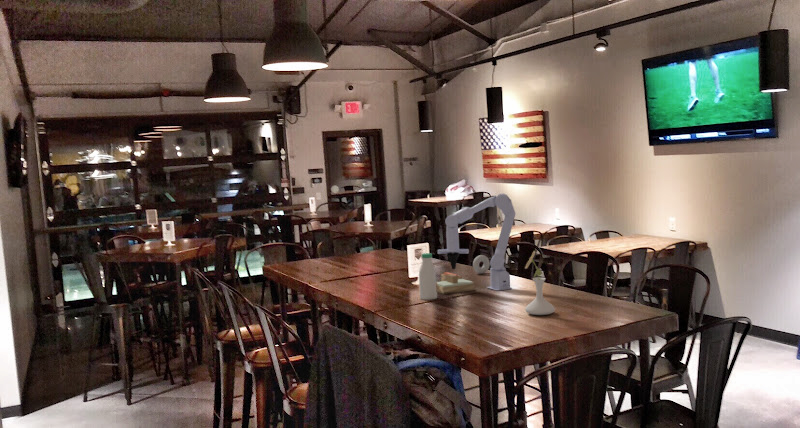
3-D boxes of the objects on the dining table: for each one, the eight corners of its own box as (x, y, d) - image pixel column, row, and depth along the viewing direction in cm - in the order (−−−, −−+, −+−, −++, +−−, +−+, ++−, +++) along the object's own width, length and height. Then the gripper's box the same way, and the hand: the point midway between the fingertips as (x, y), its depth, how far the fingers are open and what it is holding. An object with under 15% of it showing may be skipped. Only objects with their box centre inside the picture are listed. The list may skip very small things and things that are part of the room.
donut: (475, 275, 356) (474, 256, 355) (471, 274, 359) (471, 255, 358) (491, 273, 360) (490, 254, 359) (487, 272, 363) (487, 253, 363)
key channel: (462, 286, 326) (461, 276, 325) (453, 287, 324) (453, 277, 323) (449, 282, 337) (448, 273, 337) (441, 283, 336) (440, 274, 335)
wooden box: (474, 289, 316) (474, 283, 315) (443, 294, 309) (443, 287, 309) (462, 286, 326) (462, 280, 325) (432, 290, 319) (432, 284, 319)
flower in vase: (534, 309, 270) (532, 247, 268) (560, 312, 263) (558, 248, 261) (517, 316, 260) (515, 251, 258) (544, 319, 253) (542, 252, 251)
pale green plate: (473, 283, 316) (472, 275, 315) (443, 287, 309) (443, 278, 309) (462, 280, 325) (461, 272, 325) (433, 284, 319) (433, 275, 319)
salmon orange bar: (457, 278, 327) (457, 274, 327) (453, 278, 326) (453, 275, 326) (447, 275, 336) (447, 272, 336) (443, 275, 335) (443, 272, 335)
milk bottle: (435, 300, 296) (434, 254, 295) (418, 300, 298) (416, 255, 297) (438, 296, 304) (436, 252, 303) (421, 296, 306) (419, 252, 304)
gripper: (469, 239, 322) (470, 267, 323) (439, 239, 325) (440, 267, 326) (467, 240, 315) (468, 269, 316) (436, 241, 318) (437, 269, 319)
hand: (453, 268), depth 320 cm, fingers closed
